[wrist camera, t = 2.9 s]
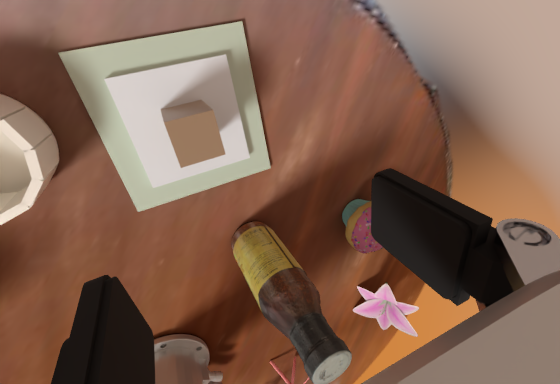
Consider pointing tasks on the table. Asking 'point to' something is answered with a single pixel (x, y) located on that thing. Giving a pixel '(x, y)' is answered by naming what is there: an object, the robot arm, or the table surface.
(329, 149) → the table surface
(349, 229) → the cupcake
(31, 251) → the table surface
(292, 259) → the sauce bottle
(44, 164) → the bowl
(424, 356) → the robot arm
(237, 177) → the mat
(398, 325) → the lily
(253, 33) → the table surface
